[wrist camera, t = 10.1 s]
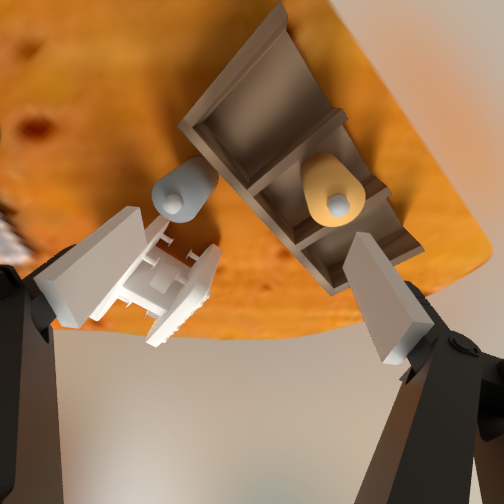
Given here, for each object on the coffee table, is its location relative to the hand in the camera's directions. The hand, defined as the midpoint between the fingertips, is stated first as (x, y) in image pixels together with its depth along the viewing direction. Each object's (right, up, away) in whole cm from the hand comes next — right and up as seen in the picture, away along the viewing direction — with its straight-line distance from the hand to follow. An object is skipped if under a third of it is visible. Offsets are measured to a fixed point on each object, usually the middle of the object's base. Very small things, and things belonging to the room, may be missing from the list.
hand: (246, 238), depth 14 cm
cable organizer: (-12, -1, +23) cm, 26 cm away
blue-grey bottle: (-6, +9, +15) cm, 19 cm away
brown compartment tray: (+7, +8, +14) cm, 18 cm away
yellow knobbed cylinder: (+8, +8, +13) cm, 17 cm away
